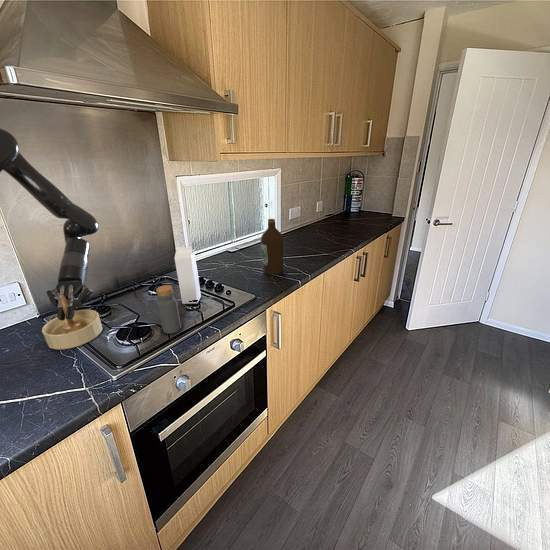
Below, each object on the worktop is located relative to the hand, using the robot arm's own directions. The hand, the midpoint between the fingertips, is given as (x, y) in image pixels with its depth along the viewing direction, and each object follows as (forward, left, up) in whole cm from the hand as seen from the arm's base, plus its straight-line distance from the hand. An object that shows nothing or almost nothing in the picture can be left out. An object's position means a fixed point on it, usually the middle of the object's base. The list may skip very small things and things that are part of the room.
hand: (65, 319), depth 91 cm
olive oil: (+61, +56, -7) cm, 83 cm away
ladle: (0, +2, -6) cm, 6 cm away
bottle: (+31, +6, -7) cm, 32 cm away
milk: (+31, +26, -7) cm, 41 cm away
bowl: (+1, +1, -7) cm, 7 cm away
